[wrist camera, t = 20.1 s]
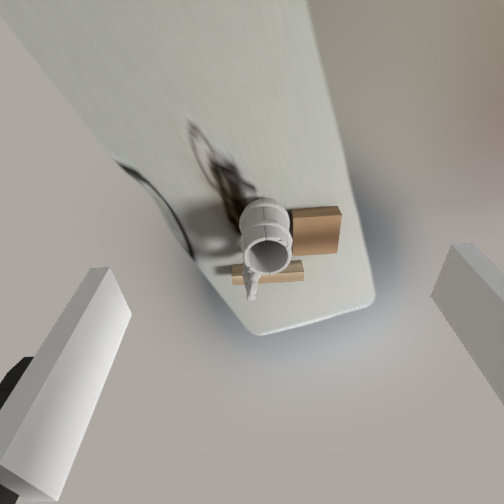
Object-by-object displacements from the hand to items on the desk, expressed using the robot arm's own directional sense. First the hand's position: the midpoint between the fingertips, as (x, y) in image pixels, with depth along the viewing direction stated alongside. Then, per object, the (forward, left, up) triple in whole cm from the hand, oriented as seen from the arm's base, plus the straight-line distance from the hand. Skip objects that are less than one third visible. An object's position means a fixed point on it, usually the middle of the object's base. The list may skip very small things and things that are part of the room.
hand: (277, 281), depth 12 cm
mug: (+18, -1, -32) cm, 37 cm away
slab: (+18, +8, -32) cm, 38 cm away
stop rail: (+26, 0, -32) cm, 41 cm away
